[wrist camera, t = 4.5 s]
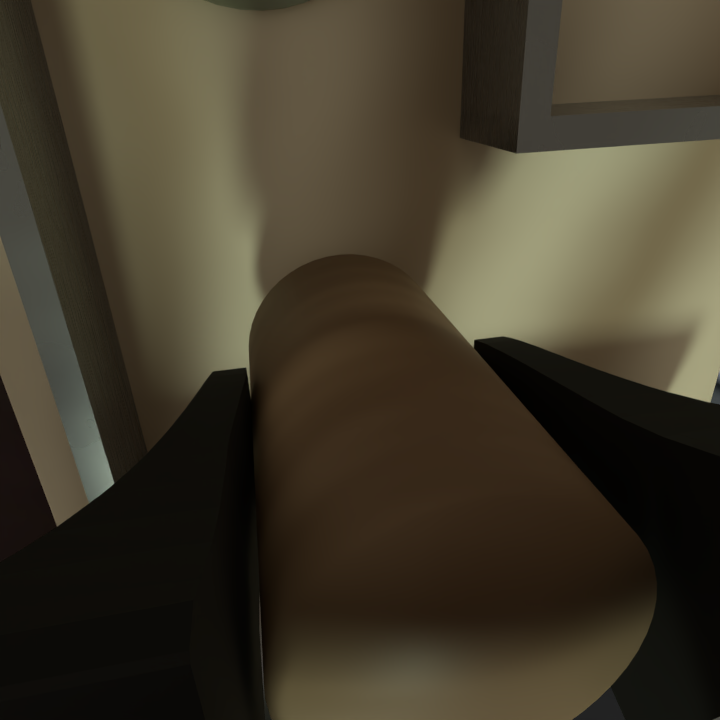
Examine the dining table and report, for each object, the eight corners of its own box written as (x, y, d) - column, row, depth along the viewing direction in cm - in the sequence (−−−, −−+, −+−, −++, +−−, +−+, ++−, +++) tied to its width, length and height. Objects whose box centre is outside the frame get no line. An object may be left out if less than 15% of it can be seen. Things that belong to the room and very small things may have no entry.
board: (83, 550, 17) (72, 583, 16) (-366, -713, 7) (-477, -860, 6) (671, 453, 20) (697, 475, 19) (924, -531, 10) (1009, -605, 9)
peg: (260, 438, 14) (285, 813, 7) (235, 264, 12) (235, 538, 5) (433, 414, 14) (620, 731, 7) (437, 245, 12) (698, 461, 5)
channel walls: (137, 504, 16) (117, 590, 13) (-151, -518, 8) (-353, -829, 5) (650, 424, 18) (721, 483, 16) (844, -416, 10) (1061, -592, 7)
